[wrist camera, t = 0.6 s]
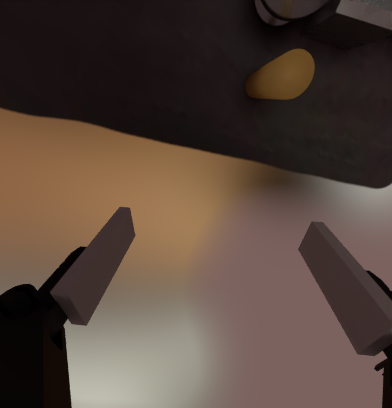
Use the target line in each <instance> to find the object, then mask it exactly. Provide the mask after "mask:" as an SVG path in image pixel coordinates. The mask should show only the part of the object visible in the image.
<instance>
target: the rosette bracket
mask: <svg viewBox="0 0 392 408" xmlns="http://www.w3.org/2000/svg"><path fill="white" fill-rule="evenodd" d="M253 2H254V8H255V11H256V14H257V16H258V18H259V19H260V20H261V21H262V22H263V23H264V24H265V25H267V26H270V27H280V26H283V25H285V24H287V23H289V22H290V21H297V20H300V19H303V18H305V17H308V19H307V21H306V24H305V26H304V29H303V31H302V34H301V36H302V37H306V38H309V39H312V40H315V41H319V42H322V43H325V44H328V45H332V46H335V47H338V48H342V49H345V50H350V49H353V48H356V47H359V46H362V45H365V44H368V43H371V42H374V41H377V40H380V39H382V38H385V37H388V36H391V35H392V0H253Z"/></svg>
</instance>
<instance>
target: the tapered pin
mask: <svg viewBox="0 0 392 408" xmlns="http://www.w3.org/2000/svg"><path fill="white" fill-rule="evenodd" d="M313 75H314V60H313V58H312V56H311V54H310V53H309V52H307V51H306V50H303V49H294V50H291V51H288V52H287V53H285V54H283V55H282V56H280V57H278V58H276V59H275V60H273V61H271V62H270V63H268V64H266V65H264V66H263V67H261V68H259V69H258V70H256V71H254V72H253V73H251V74H250V75H249V76H248V78H247V80H246V83H245V90H246V93H247V95H248V96H249V97H251V98H260V99H284V100H288V99H293V98H295V97H297V96H299V95H300V94H302V93H303V92H304V91H305V90H306V89H307V87H308V86H309V84H310V82H311V80H312V78H313Z"/></svg>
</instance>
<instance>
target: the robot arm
mask: <svg viewBox="0 0 392 408" xmlns="http://www.w3.org/2000/svg"><path fill="white" fill-rule="evenodd" d="M134 237H135V232H134V227H133V222H132V216H131V211H130V208H127V207H119V209H118V210H117V211H116V212H115V213H114V215H113V216H112V217H111V218H110V219H109V221H108V222H107V223H106V224H105V226H104V227H103V228H102V229H101V231H100V232H99V233H98V234H97V235H96V237H95V238H94V239H93V240H92V242H91V243H90V244H89V245H88V246H87V247H79V248H77V249H76V250H75V251H73V252H72V253H71V254H70V255H69V256H68V257H67V258H66V259H65V261H64V262H63V263H62V264H61V265H60V266H59V268H57V269H56V271H55V272H54V273H53V274H52V275H51V276H50V277H49V278H48V279H47V281H46V282H45V283H44V284H43V285H42V286H41V287H40V288H39V290H38V291H37V290H36V288H35V287H34V286H33V285H31V284H22V285H18V286H15V287H13V288H11V289H9V290H7V291H6V292H5V293H3V294H2V295H0V408H72V407H71V395H70V384H69V372H68V362H67V350H66V338H65V329H64V326H63V325H64V323H65V322H66V320H67V319H69V321H70V322H71V324H76V325H87V324H88V322H89V320H90V318H91V316H92V315H93V313H94V311H95V309H96V307H97V305H98V304H99V302H100V300H101V298H102V296H103V294H104V293H105V291H106V289H107V287H108V285H109V283H110V281H111V280H112V278H113V276H114V274H115V272H116V270H117V268H118V267H119V265H120V263H121V261H122V259H123V257H124V255H125V254H126V252H127V250H128V248H129V246H130V245H131V243H132V241H133V239H134ZM298 250H299V251H300V253H301V255H302V256H303V258H304V260H305V262H306V264H307V266H308V267H309V269H310V271H311V273H312V274H313V276H314V278H315V280H316V282H317V283H318V285H319V287H320V289H321V290H322V292H323V294H324V295H325V297H326V299H327V301H328V303H329V305H330V306H331V308H332V310H333V312H334V313H335V315H336V317H337V319H338V321H339V322H340V324H341V326H342V328H343V329H344V331H345V333H346V335H347V336H348V338H349V340H350V342H351V344H352V345H353V347H354V349H355V351H356V352H357V354H360V355H369V356H375V355H377V354H378V353H380V352H381V351H383V352H384V353H385V355H386V356H387V359H385V360H384V361H382V362H380V363H379V364H377V365H376V366H375V368H374V369H375V370H376V371H379V370H380V369H382V368H384V373H383V374H382V375H383V402H382V408H392V291H390V290H389V288H388V287H387V286H386V285H385V283H384V282H383V281H382V280H381V279H380V278H378V277H377V276H376V275H374V274H373V273H372V272H370V271H366V270H364V269H363V267H362V266H361V265H360V264H359V263H358V262H357V261H356V259H355V258H354V257H353V256H352V255H351V254H350V253H349V251H348V250H347V249H346V248H345V247H344V246H343V245H342V243H341V242H340V241H339V240H338V239H337V238H336V237H335V235H334V234H333V233H332V232H331V231H330V230H329V229H328V228H327V226H326V225H325V224H324V223H323V222H311V224H310V226H309V228H308V230H307V232H306V234H305V236H304V239H303V240H302V243H301V245H300V247H299V249H298Z"/></svg>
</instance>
